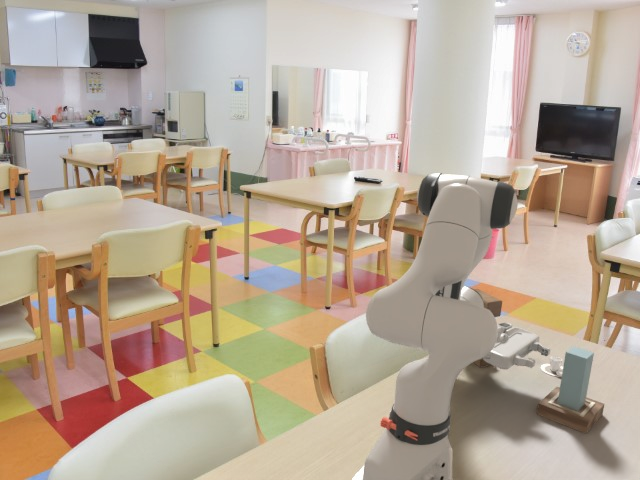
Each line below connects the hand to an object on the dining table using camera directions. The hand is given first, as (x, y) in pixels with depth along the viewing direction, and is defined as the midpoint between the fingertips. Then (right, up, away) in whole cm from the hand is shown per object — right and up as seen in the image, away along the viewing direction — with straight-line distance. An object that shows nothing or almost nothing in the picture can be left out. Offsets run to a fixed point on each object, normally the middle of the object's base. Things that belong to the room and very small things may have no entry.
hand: (541, 358), depth 152 cm
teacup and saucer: (+9, -9, +18) cm, 22 cm away
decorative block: (-10, -5, +26) cm, 28 cm away
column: (+6, -11, -3) cm, 13 cm away
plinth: (+6, -14, -3) cm, 15 cm away
